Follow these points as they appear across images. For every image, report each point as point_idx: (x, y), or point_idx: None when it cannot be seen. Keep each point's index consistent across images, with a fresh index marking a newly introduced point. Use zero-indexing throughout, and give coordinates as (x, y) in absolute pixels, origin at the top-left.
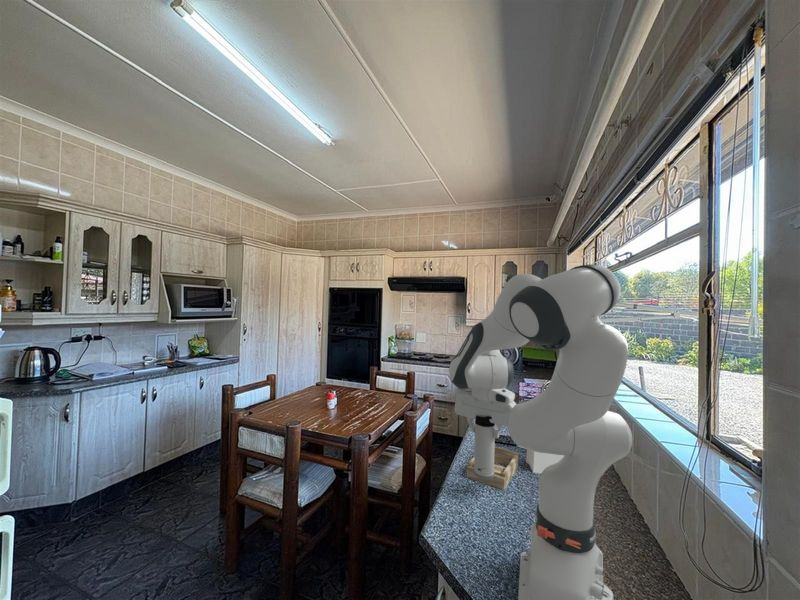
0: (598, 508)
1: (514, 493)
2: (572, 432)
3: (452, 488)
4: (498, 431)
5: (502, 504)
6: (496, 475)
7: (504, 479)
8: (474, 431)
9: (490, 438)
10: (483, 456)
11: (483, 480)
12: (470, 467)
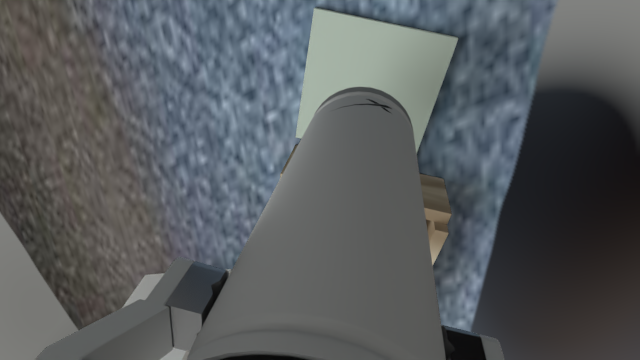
0: (48, 174)
1: (263, 162)
2: None
3: (506, 104)
4: (123, 312)
5: (290, 76)
6: None
7: (281, 173)
8: (444, 328)
9: (254, 242)
10: (345, 137)
11: None
12: (434, 212)
